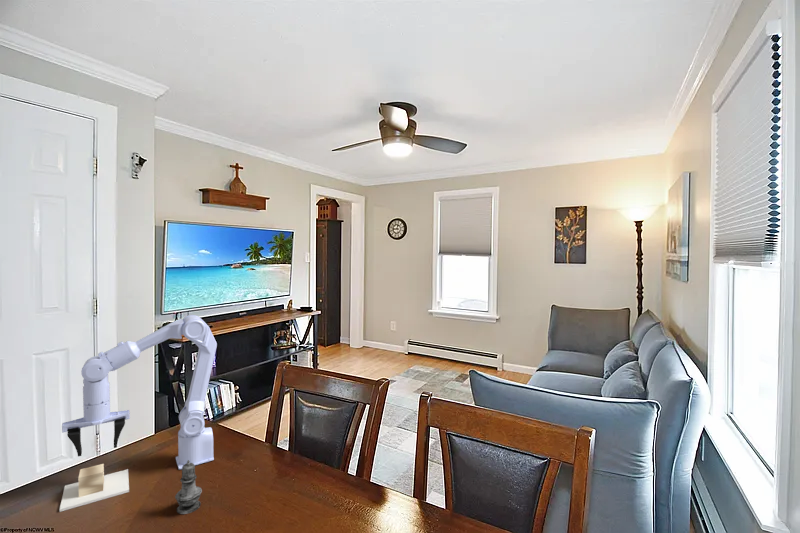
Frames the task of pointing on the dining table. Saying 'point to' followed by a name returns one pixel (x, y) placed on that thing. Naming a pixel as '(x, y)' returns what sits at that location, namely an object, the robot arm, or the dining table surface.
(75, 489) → the white mat
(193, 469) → the grey stone chess piece
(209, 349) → the robot arm
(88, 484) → the birch block
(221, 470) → the dining table surface
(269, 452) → the dining table surface
